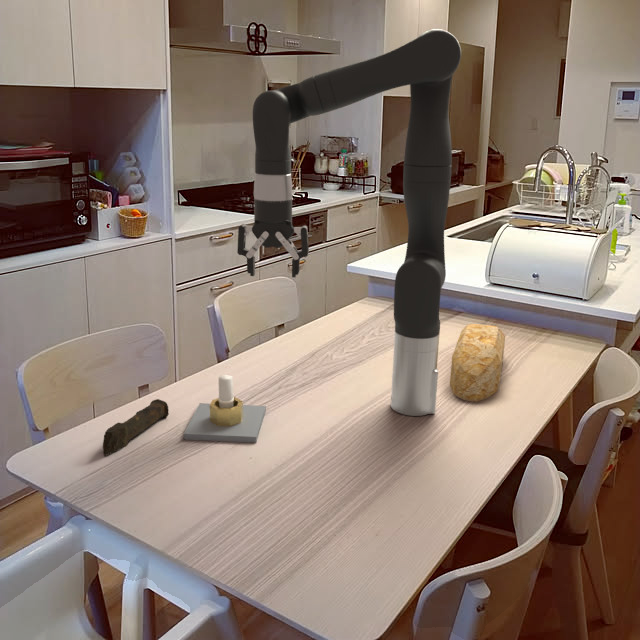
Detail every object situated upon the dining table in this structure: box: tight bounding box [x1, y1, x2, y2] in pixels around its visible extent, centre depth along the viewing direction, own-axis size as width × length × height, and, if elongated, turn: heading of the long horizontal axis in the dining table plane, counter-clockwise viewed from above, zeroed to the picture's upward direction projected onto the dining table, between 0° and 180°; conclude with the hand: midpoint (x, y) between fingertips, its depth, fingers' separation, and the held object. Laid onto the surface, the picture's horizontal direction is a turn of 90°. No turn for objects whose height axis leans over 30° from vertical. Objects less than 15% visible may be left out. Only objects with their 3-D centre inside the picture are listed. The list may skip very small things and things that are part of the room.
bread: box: [449, 323, 506, 402], centre depth 171 cm, size 36×11×10 cm, turn 163°
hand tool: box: [102, 398, 170, 457], centre depth 137 cm, size 19×4×5 cm, turn 157°
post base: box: [183, 374, 267, 443], centre depth 141 cm, size 14×14×10 cm
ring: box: [209, 396, 244, 426], centre depth 142 cm, size 6×6×4 cm
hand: (273, 276), depth 145 cm, fingers open, 8 cm apart
